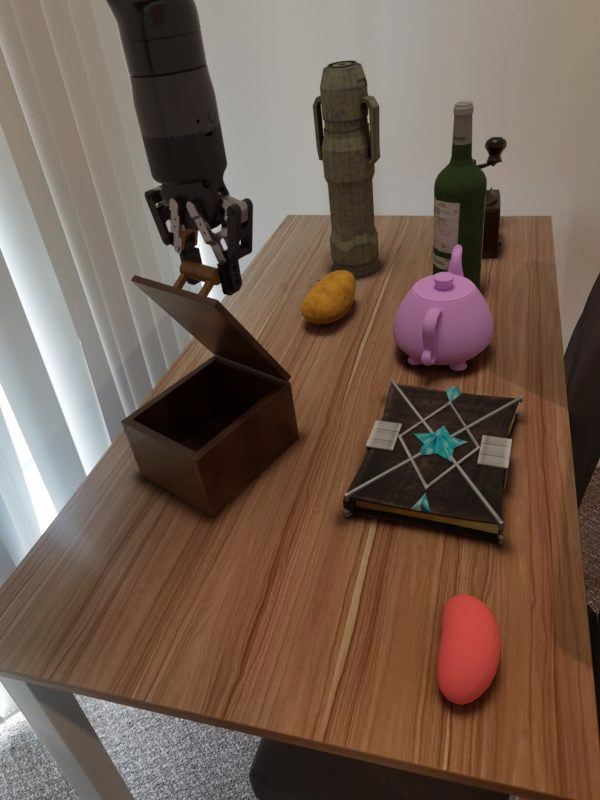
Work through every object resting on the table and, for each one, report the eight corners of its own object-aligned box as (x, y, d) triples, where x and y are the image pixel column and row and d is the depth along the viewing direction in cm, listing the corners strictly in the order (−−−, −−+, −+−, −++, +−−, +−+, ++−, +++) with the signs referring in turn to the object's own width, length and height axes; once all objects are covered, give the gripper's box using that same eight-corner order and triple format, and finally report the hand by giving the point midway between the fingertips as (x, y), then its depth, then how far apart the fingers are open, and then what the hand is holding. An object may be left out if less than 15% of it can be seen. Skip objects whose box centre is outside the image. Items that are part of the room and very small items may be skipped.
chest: (213, 517, 69) (196, 460, 63) (141, 475, 76) (120, 421, 70) (299, 438, 78) (290, 382, 72) (228, 407, 85) (215, 354, 80)
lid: (213, 306, 58) (238, 264, 59) (130, 280, 65) (154, 243, 66) (288, 382, 72) (307, 347, 73) (212, 353, 79) (231, 322, 80)
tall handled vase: (376, 282, 110) (366, 67, 89) (318, 275, 115) (296, 70, 94) (393, 261, 116) (388, 56, 95) (338, 255, 121) (321, 59, 100)
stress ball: (517, 647, 54) (501, 583, 53) (499, 718, 46) (480, 644, 45) (460, 644, 56) (444, 583, 56) (434, 711, 49) (415, 641, 48)
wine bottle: (422, 291, 105) (423, 105, 87) (457, 276, 108) (465, 94, 90) (454, 307, 99) (462, 112, 81) (489, 292, 102) (505, 100, 84)
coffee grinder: (501, 258, 111) (510, 158, 101) (440, 258, 114) (442, 161, 103) (499, 225, 123) (507, 132, 112) (444, 226, 126) (447, 136, 115)
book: (390, 400, 82) (389, 370, 79) (520, 416, 76) (524, 384, 73) (343, 518, 66) (339, 486, 63) (502, 550, 60) (507, 517, 57)
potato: (368, 299, 105) (366, 263, 101) (335, 340, 96) (331, 302, 92) (329, 294, 108) (325, 259, 104) (293, 332, 99) (287, 295, 95)
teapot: (414, 311, 100) (413, 240, 92) (502, 320, 95) (509, 245, 87) (377, 379, 86) (373, 302, 78) (478, 394, 81) (485, 313, 73)
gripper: (102, 129, 58) (147, 288, 68) (204, 138, 50) (238, 316, 60) (160, 111, 63) (194, 262, 73) (262, 117, 55) (285, 286, 65)
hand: (214, 286), depth 67 cm, fingers closed on lid, 5 cm apart
